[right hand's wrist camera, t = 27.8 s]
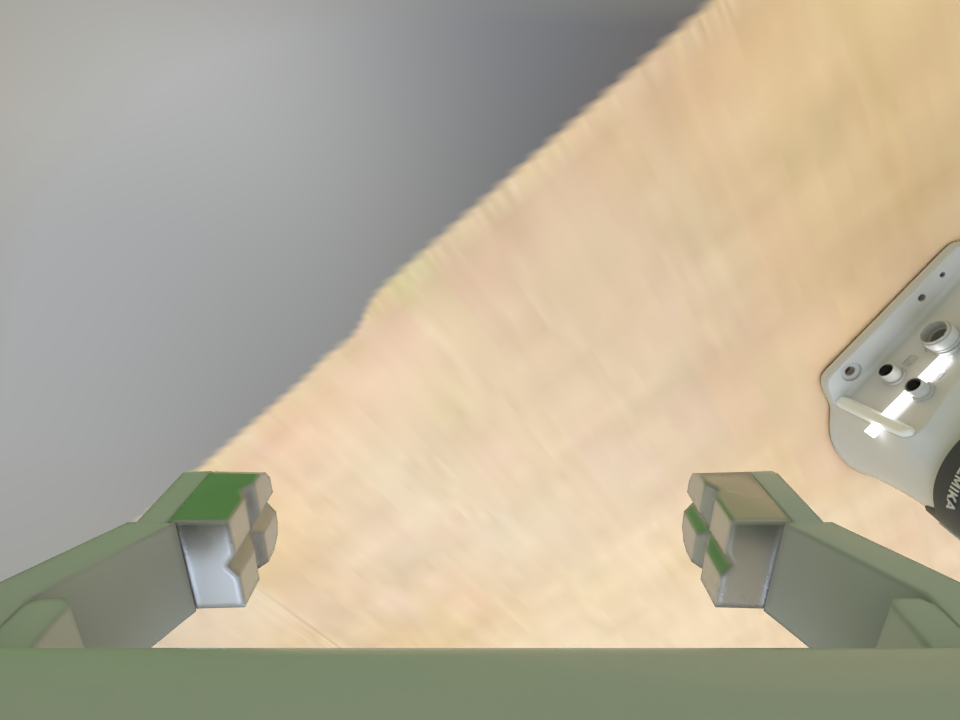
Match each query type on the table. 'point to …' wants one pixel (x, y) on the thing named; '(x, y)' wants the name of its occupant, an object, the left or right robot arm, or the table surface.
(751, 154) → the table surface
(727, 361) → the table surface
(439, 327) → the table surface
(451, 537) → the table surface
